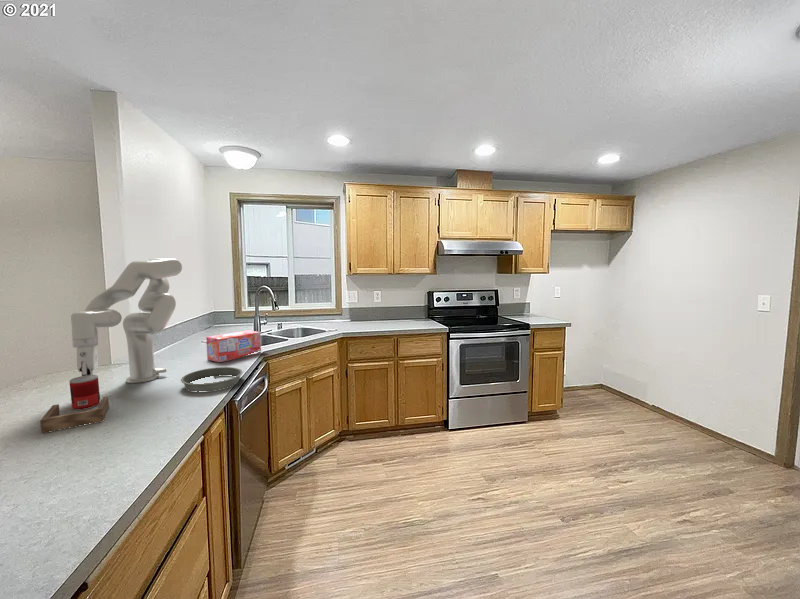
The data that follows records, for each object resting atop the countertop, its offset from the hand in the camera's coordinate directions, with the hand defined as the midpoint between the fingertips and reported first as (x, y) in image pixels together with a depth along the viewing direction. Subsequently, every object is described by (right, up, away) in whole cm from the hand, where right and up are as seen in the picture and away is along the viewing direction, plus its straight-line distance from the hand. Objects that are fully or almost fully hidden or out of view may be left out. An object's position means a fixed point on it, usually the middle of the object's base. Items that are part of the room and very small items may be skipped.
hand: (88, 386), depth 137 cm
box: (+29, +1, +63) cm, 70 cm away
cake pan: (+41, -4, +17) cm, 45 cm away
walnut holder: (+14, -7, -18) cm, 24 cm away
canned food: (+6, -6, -7) cm, 11 cm away
